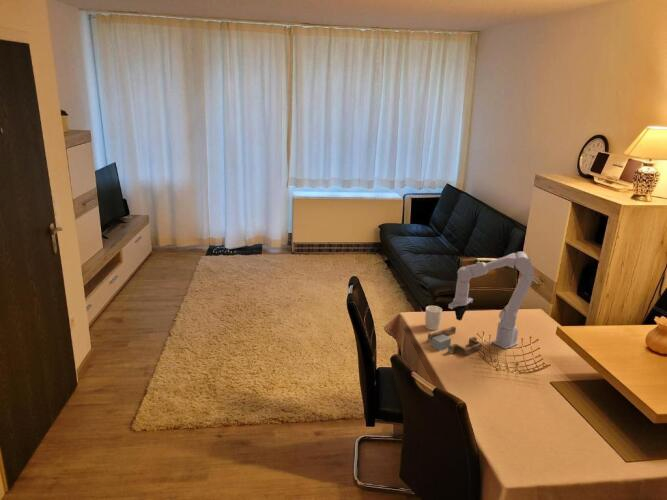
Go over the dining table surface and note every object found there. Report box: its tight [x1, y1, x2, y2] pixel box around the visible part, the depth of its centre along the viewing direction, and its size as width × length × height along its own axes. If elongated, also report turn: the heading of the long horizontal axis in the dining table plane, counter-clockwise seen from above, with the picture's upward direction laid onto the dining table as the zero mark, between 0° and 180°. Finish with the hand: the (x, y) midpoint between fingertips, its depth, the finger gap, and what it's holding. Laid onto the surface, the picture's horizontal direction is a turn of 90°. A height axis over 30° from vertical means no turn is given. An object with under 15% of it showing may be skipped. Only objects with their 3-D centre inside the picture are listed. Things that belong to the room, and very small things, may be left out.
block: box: [431, 334, 452, 352], centre depth 226 cm, size 7×5×4 cm
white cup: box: [424, 305, 443, 331], centre depth 243 cm, size 8×8×10 cm
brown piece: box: [427, 326, 483, 357], centre depth 228 cm, size 17×19×4 cm
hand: (458, 319), depth 232 cm, fingers closed
